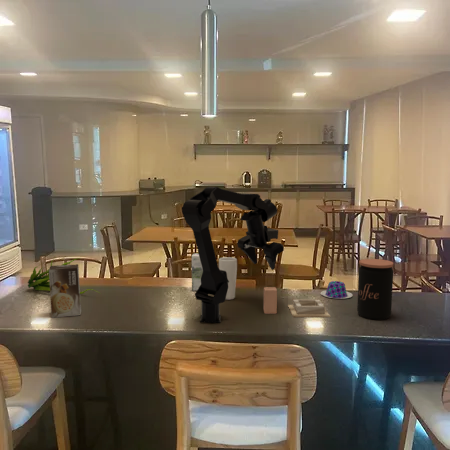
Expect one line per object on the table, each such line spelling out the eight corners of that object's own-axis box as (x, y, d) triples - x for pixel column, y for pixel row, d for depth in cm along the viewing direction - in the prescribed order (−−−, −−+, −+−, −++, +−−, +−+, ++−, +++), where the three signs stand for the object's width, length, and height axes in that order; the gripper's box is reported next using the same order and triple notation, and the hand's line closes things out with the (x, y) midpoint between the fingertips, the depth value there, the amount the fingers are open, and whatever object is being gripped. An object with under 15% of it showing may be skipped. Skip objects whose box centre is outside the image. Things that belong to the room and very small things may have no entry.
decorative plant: (52, 308, 152) (50, 266, 150) (26, 290, 174) (24, 254, 172) (101, 298, 163) (99, 259, 161) (70, 282, 186) (69, 248, 184)
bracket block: (276, 313, 146) (276, 290, 145) (264, 313, 146) (264, 290, 145) (275, 309, 150) (275, 287, 149) (263, 309, 150) (263, 287, 149)
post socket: (330, 317, 142) (330, 308, 142) (293, 317, 142) (293, 308, 141) (321, 306, 154) (321, 297, 153) (287, 306, 154) (287, 297, 153)
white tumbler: (237, 295, 166) (237, 257, 165) (236, 301, 160) (236, 260, 158) (219, 295, 167) (219, 256, 165) (217, 300, 160) (217, 260, 158)
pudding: (335, 290, 176) (335, 277, 175) (359, 297, 166) (359, 283, 166) (313, 294, 170) (314, 281, 169) (337, 302, 160) (338, 288, 159)
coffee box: (81, 309, 149) (79, 263, 147) (80, 315, 143) (78, 267, 141) (52, 312, 147) (50, 265, 145) (50, 318, 140) (48, 269, 139)
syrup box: (207, 287, 178) (207, 253, 176) (205, 291, 172) (205, 255, 170) (194, 287, 178) (193, 252, 177) (191, 291, 172) (191, 255, 171)
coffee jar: (350, 312, 147) (352, 259, 145) (376, 308, 151) (378, 257, 149) (371, 322, 137) (373, 266, 135) (398, 318, 141) (401, 263, 139)
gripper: (290, 222, 149) (298, 262, 155) (254, 215, 164) (262, 251, 169) (267, 235, 143) (276, 276, 149) (232, 226, 158) (241, 264, 163)
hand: (264, 266), depth 158 cm, fingers open, 9 cm apart
